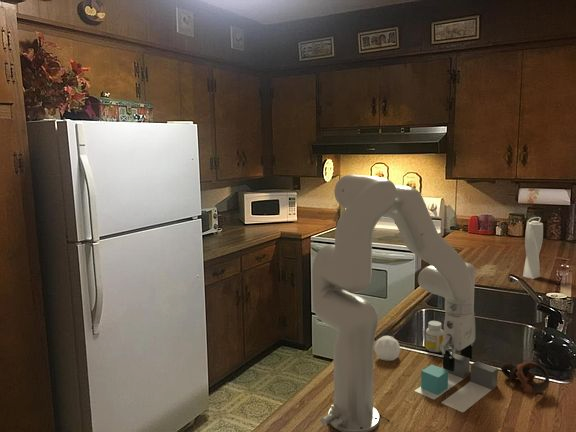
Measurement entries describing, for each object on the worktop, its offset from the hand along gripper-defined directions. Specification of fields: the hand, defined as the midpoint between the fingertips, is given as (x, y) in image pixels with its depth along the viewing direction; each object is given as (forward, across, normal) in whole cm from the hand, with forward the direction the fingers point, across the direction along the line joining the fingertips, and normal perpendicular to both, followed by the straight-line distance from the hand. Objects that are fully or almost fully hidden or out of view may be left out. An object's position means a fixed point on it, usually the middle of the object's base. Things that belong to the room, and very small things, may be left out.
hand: (457, 363), depth 136 cm
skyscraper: (+6, +109, +23) cm, 112 cm away
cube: (+3, -12, 0) cm, 12 cm away
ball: (+4, -6, +20) cm, 21 cm away
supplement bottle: (+4, +9, +13) cm, 17 cm away
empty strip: (+4, -8, -8) cm, 12 cm away
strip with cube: (+4, -8, 0) cm, 9 cm away
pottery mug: (+4, +8, -15) cm, 18 cm away
